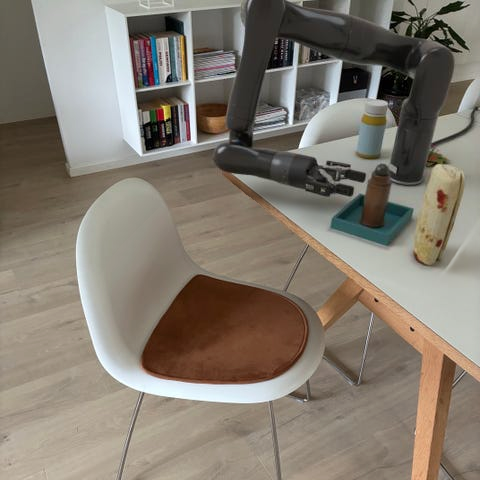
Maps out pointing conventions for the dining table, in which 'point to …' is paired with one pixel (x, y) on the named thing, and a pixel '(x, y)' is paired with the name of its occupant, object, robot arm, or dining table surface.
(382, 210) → the pepper mill
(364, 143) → the bottle
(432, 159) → the lily flower
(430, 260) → the food model
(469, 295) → the dining table surface
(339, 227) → the tray
